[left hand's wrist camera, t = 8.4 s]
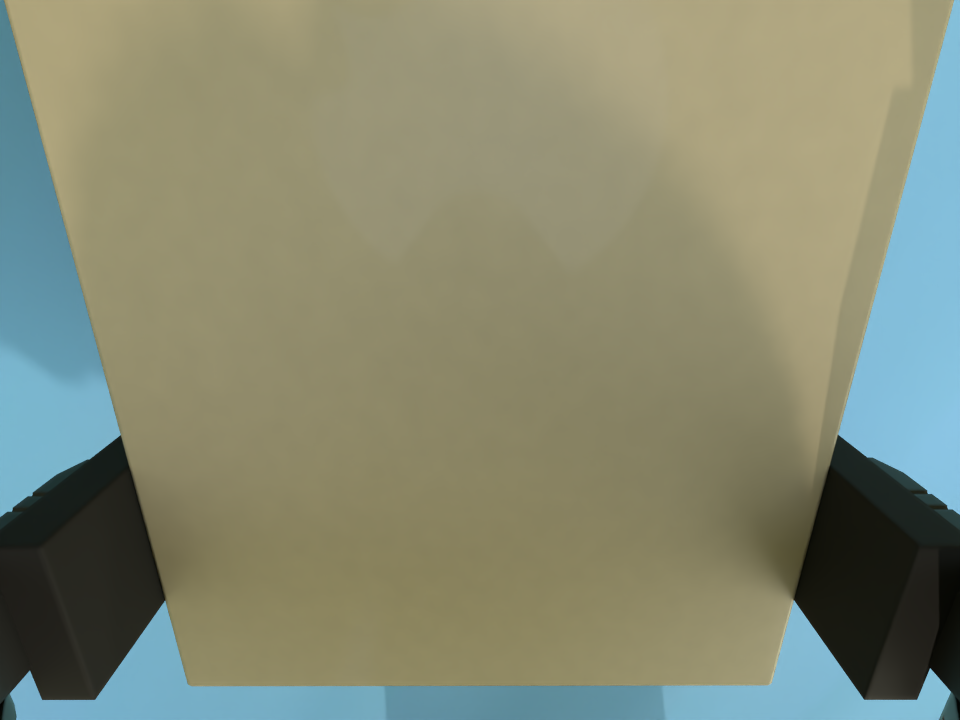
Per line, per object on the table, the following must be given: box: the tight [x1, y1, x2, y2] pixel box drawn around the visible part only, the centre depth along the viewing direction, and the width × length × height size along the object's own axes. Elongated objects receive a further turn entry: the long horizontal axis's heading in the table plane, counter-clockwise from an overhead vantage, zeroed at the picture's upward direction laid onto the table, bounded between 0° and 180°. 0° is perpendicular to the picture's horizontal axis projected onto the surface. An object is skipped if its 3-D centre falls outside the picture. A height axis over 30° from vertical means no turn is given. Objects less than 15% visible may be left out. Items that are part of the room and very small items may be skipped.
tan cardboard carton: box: [4, 0, 954, 686], centre depth 11 cm, size 20×11×10 cm, turn 0°
